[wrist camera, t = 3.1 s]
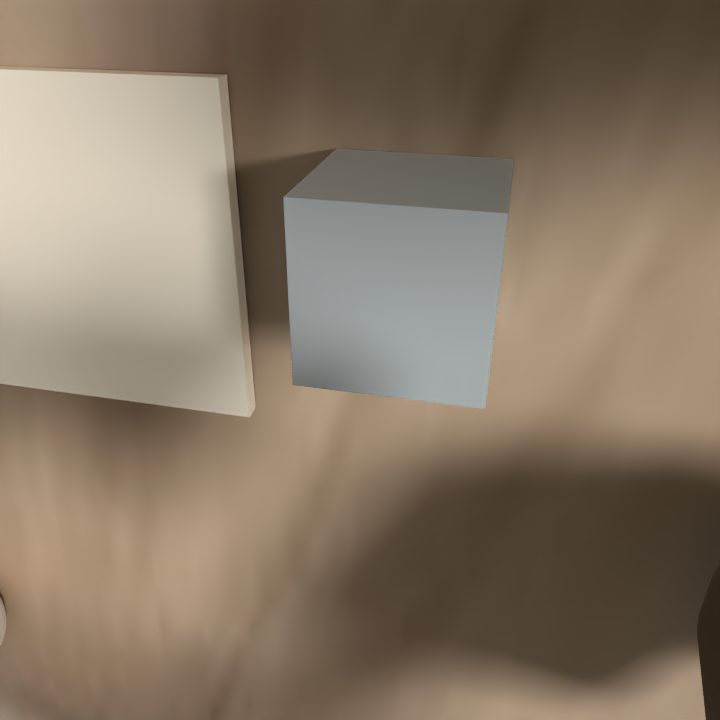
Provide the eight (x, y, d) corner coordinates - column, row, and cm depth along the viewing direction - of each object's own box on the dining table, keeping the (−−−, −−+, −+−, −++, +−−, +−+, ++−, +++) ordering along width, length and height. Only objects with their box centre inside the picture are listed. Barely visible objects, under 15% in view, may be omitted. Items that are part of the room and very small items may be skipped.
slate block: (514, 157, 15) (508, 213, 12) (495, 320, 17) (485, 409, 14) (337, 148, 16) (283, 197, 12) (339, 304, 18) (292, 384, 14)
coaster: (227, 74, 15) (218, 77, 15) (255, 407, 20) (249, 417, 19) (-114, 61, 17) (-131, 64, 17) (-16, 372, 21) (-27, 380, 21)
